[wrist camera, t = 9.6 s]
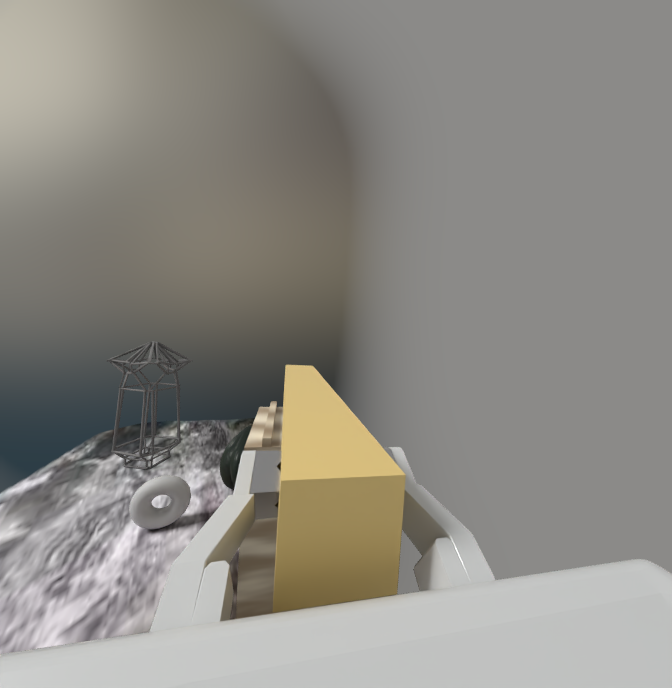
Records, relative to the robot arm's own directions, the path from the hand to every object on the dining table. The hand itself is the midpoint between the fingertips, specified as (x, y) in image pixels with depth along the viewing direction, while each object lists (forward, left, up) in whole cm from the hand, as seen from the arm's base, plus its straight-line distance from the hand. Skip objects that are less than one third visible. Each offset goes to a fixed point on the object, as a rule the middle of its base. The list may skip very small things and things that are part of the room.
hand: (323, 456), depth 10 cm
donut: (+13, +47, -34) cm, 60 cm away
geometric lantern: (+22, +78, -34) cm, 88 cm away
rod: (+7, +7, -2) cm, 10 cm away
